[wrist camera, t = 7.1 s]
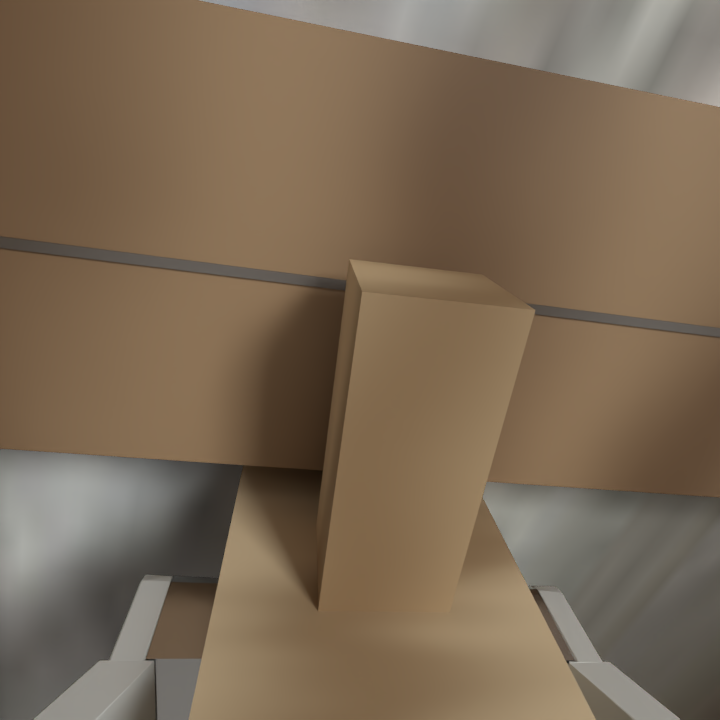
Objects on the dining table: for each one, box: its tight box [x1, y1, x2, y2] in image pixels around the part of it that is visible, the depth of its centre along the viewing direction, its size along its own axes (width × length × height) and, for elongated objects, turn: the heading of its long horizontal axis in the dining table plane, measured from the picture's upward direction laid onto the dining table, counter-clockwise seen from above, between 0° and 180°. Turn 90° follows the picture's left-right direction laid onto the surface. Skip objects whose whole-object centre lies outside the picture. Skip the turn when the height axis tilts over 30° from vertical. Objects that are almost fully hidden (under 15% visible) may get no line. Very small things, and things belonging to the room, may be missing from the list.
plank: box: [0, 0, 720, 497], centre depth 9 cm, size 26×7×2 cm, turn 81°
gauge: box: [189, 259, 596, 720], centre depth 8 cm, size 5×9×7 cm, turn 172°
